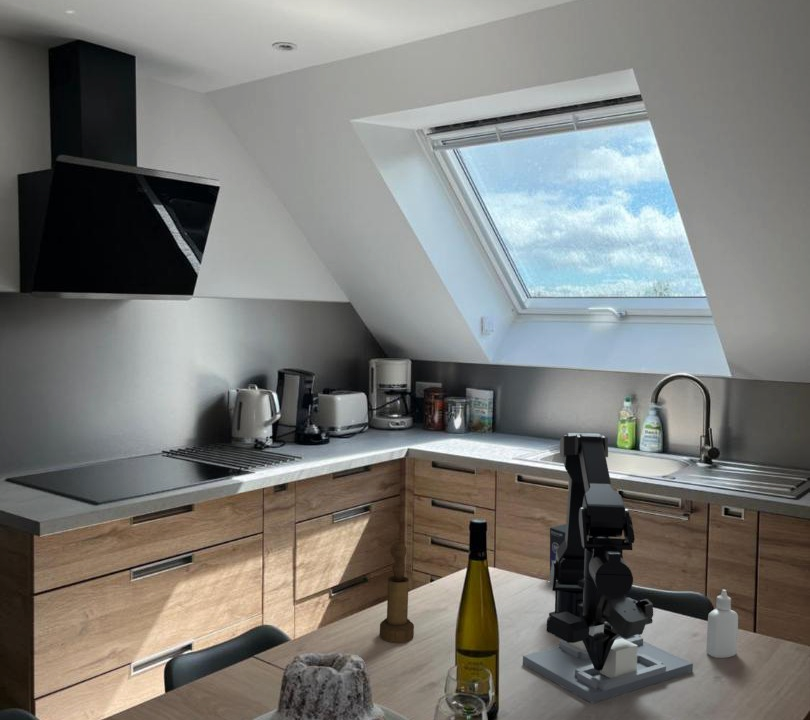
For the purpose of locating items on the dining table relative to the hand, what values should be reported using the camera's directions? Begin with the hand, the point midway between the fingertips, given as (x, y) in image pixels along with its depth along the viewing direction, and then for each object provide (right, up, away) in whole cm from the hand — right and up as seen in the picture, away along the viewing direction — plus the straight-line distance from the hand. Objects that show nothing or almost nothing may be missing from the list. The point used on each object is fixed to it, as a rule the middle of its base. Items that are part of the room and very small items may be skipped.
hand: (598, 669), depth 138 cm
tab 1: (+1, -1, +13) cm, 13 cm away
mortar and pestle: (-34, -2, +21) cm, 39 cm away
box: (+9, -1, +54) cm, 55 cm away
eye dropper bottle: (+26, -3, +15) cm, 31 cm away
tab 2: (+4, -2, +2) cm, 5 cm away
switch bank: (+4, -3, +8) cm, 10 cm away
